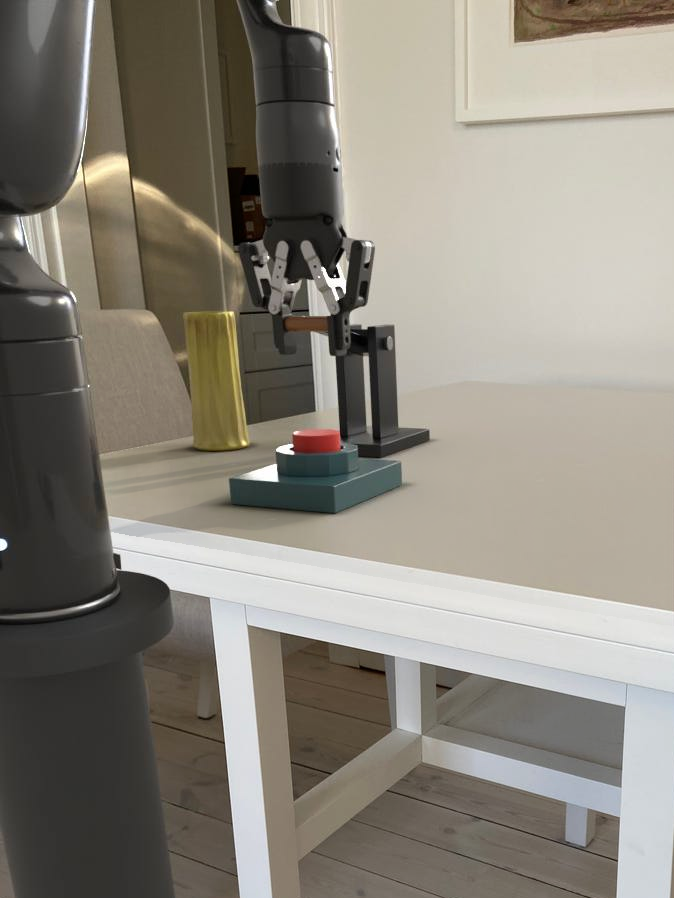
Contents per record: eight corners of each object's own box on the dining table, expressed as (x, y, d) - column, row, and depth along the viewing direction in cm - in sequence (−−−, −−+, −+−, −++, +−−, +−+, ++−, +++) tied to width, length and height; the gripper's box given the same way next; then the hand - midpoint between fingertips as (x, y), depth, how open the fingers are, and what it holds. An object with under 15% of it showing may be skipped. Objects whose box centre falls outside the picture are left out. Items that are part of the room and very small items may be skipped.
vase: (257, 442, 113) (245, 310, 109) (239, 451, 108) (226, 313, 103) (205, 442, 114) (191, 311, 109) (185, 451, 108) (169, 313, 103)
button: (325, 458, 83) (324, 436, 82) (284, 455, 84) (282, 434, 84) (349, 450, 86) (348, 430, 86) (309, 448, 88) (308, 427, 87)
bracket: (381, 457, 103) (375, 328, 99) (306, 453, 106) (297, 327, 102) (430, 440, 114) (426, 322, 109) (360, 436, 117) (354, 322, 112)
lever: (328, 335, 95) (330, 309, 94) (283, 334, 96) (285, 309, 96) (391, 357, 107) (392, 334, 106) (350, 356, 109) (351, 333, 108)
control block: (335, 513, 79) (332, 463, 78) (230, 504, 83) (226, 456, 82) (402, 485, 90) (400, 440, 88) (307, 478, 93) (304, 435, 92)
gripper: (209, 163, 90) (228, 356, 96) (347, 154, 85) (359, 359, 91) (257, 169, 97) (272, 350, 103) (388, 162, 92) (396, 353, 98)
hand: (313, 354), depth 97 cm, fingers closed on lever, 5 cm apart
